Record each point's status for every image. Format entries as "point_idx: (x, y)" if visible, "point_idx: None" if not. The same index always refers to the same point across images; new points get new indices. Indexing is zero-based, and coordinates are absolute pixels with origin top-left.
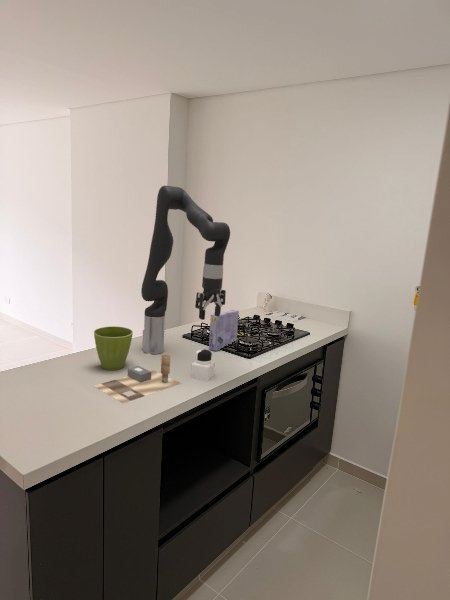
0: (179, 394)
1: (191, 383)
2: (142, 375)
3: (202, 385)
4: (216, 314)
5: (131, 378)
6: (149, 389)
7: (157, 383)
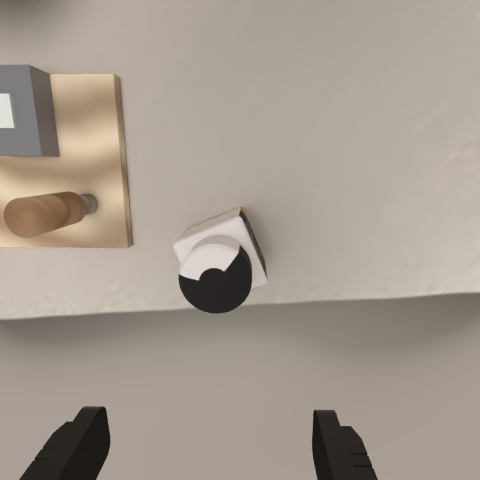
0: (95, 278)
1: None
2: (3, 155)
3: None
4: (315, 442)
5: None
6: None
7: None
